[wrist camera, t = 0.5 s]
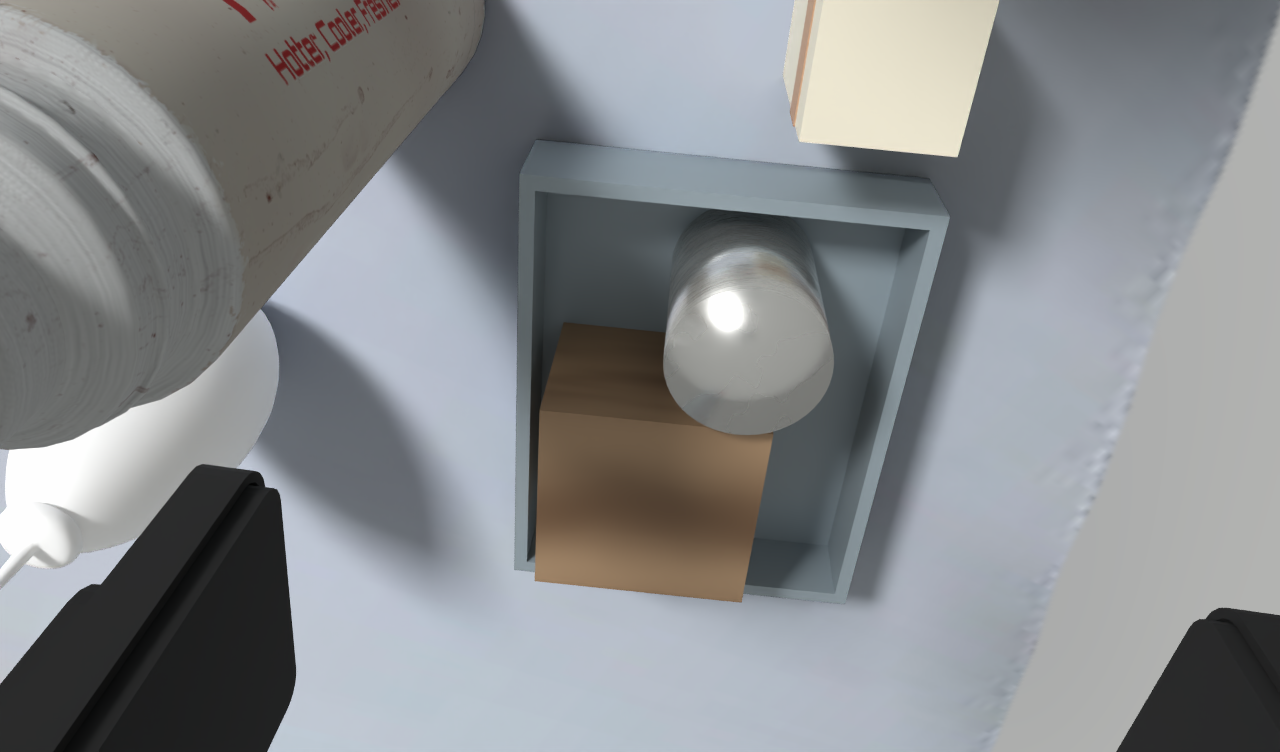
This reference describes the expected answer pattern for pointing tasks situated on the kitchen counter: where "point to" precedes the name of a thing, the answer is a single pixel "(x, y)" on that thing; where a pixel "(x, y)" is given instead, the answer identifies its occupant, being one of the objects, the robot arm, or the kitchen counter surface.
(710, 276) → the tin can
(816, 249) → the grey shallow tray
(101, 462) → the sauce bottle
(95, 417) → the thermos bottle
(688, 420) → the walnut block
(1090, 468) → the kitchen counter surface
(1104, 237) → the kitchen counter surface
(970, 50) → the oat carton
